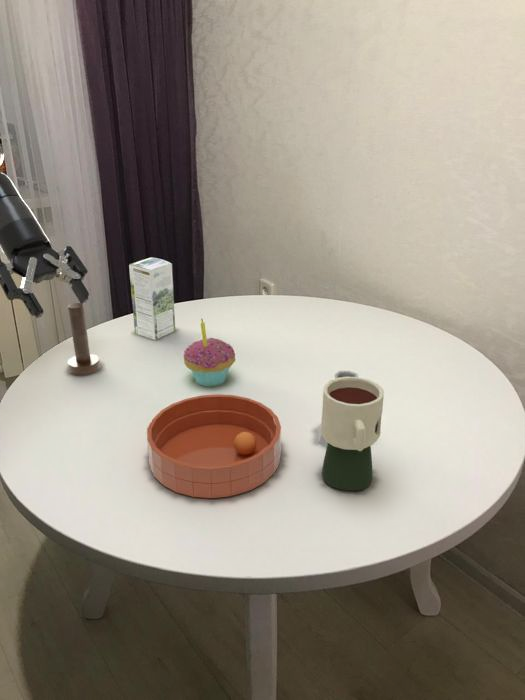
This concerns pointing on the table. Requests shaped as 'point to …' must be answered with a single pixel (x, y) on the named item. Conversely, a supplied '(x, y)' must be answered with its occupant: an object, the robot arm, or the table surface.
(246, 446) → the ball
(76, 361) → the brown peg stand
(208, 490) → the bowl
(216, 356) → the cupcake
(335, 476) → the character mug
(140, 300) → the syrup box
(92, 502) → the table surface
